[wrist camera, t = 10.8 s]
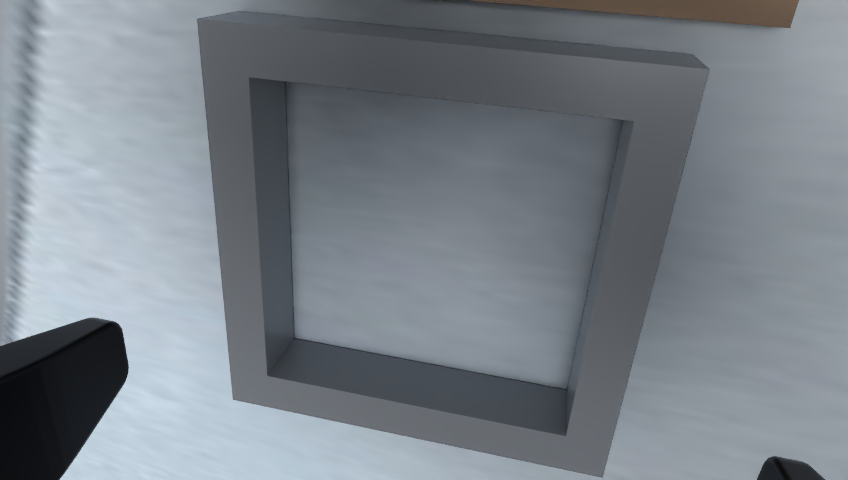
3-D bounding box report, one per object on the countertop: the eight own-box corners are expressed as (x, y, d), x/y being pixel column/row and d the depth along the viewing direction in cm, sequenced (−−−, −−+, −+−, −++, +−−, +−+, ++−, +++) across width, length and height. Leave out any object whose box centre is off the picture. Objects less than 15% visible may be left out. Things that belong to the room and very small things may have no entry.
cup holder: (600, 428, 24) (602, 477, 21) (262, 361, 26) (233, 399, 24) (692, 54, 18) (709, 69, 15) (239, 10, 20) (196, 18, 18)
